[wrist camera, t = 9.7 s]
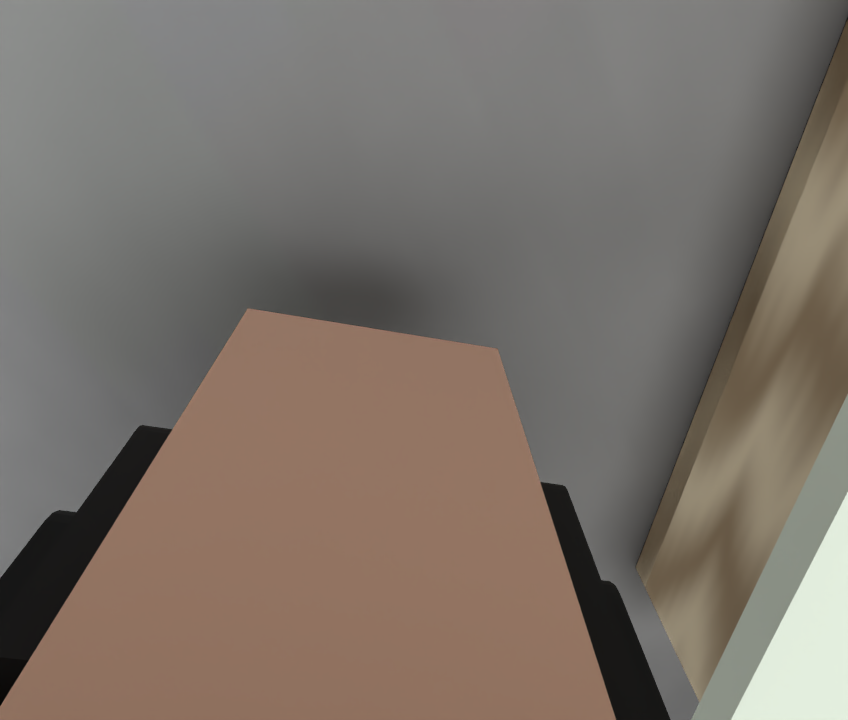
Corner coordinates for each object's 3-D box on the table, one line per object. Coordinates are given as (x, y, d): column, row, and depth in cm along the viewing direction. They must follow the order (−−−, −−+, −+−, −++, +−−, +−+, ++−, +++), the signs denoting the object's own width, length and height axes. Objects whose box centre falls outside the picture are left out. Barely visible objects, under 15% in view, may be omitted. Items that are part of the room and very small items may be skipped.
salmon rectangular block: (453, 525, 14) (547, 1421, 5) (232, 495, 13) (-133, 1423, 4) (497, 348, 12) (765, 1189, 3) (247, 308, 12) (-277, 1152, 3)
